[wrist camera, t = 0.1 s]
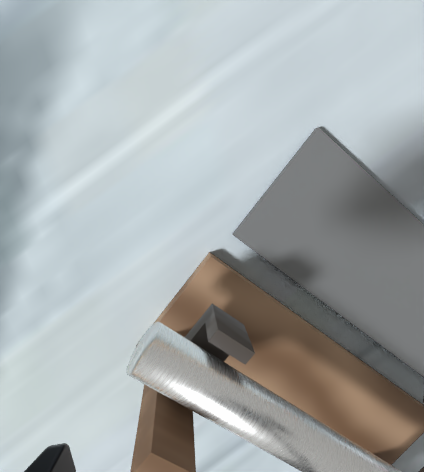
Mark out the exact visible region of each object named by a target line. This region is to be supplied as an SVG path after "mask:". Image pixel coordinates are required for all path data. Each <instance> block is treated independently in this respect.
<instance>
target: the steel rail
mask: <svg viewBox="0 0 424 472" xmlns="http://www.w3.org/2000/svg"><path fill="white" fill-rule="evenodd" d="M127 375H129V376H131V377H132V378H134V379H136V380H138V381H140V382H141V383H143V384H145V385H147V386H149V387H151V388H152V389H154V390H156V391H158V392H160V393H161V394H163V395H165V396H167V397H169V398H170V399H172V400H174V401H176V402H178V403H179V404H181V405H183V406H185V407H187V408H188V409H190V410H192V411H194V412H196V413H197V414H199V415H201V416H203V417H205V418H206V419H208V420H210V421H212V422H214V423H215V424H217V425H219V426H221V427H223V428H224V429H226V430H228V431H230V432H232V433H233V434H235V435H237V436H239V437H241V438H243V439H244V440H246V441H248V442H250V443H252V444H253V445H255V446H257V447H259V448H261V449H262V450H264V451H266V452H268V453H270V454H271V455H273V456H275V457H277V458H279V459H280V460H282V461H284V462H286V463H288V464H289V465H291V466H293V467H295V468H297V469H298V470H300V471H302V472H401V471H400V470H398V469H397V468H395V467H393V466H392V465H390V464H388V463H387V462H385V461H384V460H382V459H380V458H379V457H377V456H376V455H374V454H372V453H371V452H369V451H367V450H366V449H364V448H363V447H361V446H359V445H358V444H356V443H354V442H353V441H351V440H350V439H348V438H346V437H345V436H343V435H342V434H340V433H338V432H337V431H335V430H333V429H332V428H330V427H329V426H327V425H325V424H324V423H322V422H321V421H319V420H317V419H316V418H314V417H312V416H311V415H309V414H308V413H306V412H304V411H303V410H301V409H299V408H298V407H296V406H295V405H293V404H291V403H290V402H288V401H287V400H285V399H283V398H282V397H280V396H278V395H277V394H275V393H274V392H272V391H270V390H269V389H267V388H265V387H264V386H262V385H261V384H259V383H257V382H256V381H254V380H253V379H251V378H249V377H248V376H246V375H244V374H243V373H241V372H240V371H238V370H236V369H235V368H233V367H232V366H230V365H228V364H227V363H225V362H223V361H222V360H220V359H219V358H217V357H215V356H214V355H212V354H210V353H209V352H207V351H206V350H204V349H202V348H201V347H199V346H198V345H196V344H194V343H193V342H191V341H189V340H188V339H186V338H185V337H183V336H181V335H180V334H178V333H177V332H175V331H173V330H172V329H170V328H168V327H167V326H165V325H164V324H162V323H160V322H156V323H154V324H153V325H152V326H151V327H150V328H149V329H148V330H147V332H146V333H145V334H144V336H143V337H142V339H141V340H140V342H139V343H138V345H137V347H136V348H135V350H134V352H133V354H132V356H131V359H130V361H129V364H128V367H127Z"/></svg>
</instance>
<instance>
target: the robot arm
mask: <svg viewBox="0 0 424 472" xmlns="http://www.w3.org/2000/svg"><path fill="white" fill-rule="evenodd" d="M423 407H424V398H423ZM24 472H76V469H75V465H74V462H73V459H72V455H71V452H70V448H69V446H68V445H67V444H65V443H63V444H57V445H52V446H49V447H47V448H46V449H45V450H44V451H43V452H42V453H41V454H40V455H39V456H38V458H37V459H36V460H35V461H34V462H33V463H32V464H31V465H30V466H29V467H28V468H27V469H26V470H25V471H24Z"/></svg>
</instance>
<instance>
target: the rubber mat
mask: <svg viewBox="0 0 424 472" xmlns="http://www.w3.org/2000/svg"><path fill="white" fill-rule="evenodd" d="M233 235H234V236H235V237H236V238H238V239H239V240H240V241H242V242H243V243H244V244H246V245H247V246H248V247H250V248H251V249H252V250H254V251H255V252H257V253H258V254H259V255H261V256H262V257H263V258H265V259H266V260H267V261H269V262H270V263H271V264H273V265H274V266H275V267H277V268H278V269H279V270H281V271H282V272H283V273H285V274H286V275H287V276H289V277H290V278H291V279H293V280H294V281H295V282H297V283H298V284H299V285H301V286H302V287H303V288H305V289H306V290H307V291H309V292H310V293H311V294H313V295H314V296H315V297H317V298H318V299H320V300H321V301H322V302H324V303H325V304H326V305H328V306H329V307H330V308H332V309H333V310H334V311H336V312H337V313H338V314H340V315H341V316H342V317H344V318H345V319H346V320H348V321H349V322H350V323H352V324H353V325H354V326H356V327H357V328H358V329H360V330H361V331H362V332H364V333H365V334H366V335H368V336H369V337H370V338H372V339H373V340H374V341H376V342H377V343H378V344H380V345H381V346H382V347H384V348H385V349H387V350H388V351H389V352H391V353H392V354H393V355H395V356H396V357H397V358H399V359H400V360H401V361H403V362H404V363H405V364H407V365H408V366H409V367H411V368H412V369H413V370H415V371H416V372H417V373H419V374H420V375H421V376H423V377H424V224H423V223H422V222H421V221H419V220H418V219H417V218H416V217H415V216H414V215H413V214H412V213H411V212H410V211H409V210H408V209H407V208H405V207H404V206H403V205H402V204H401V203H400V202H399V201H398V200H397V199H396V198H395V197H394V196H393V195H391V194H390V193H389V192H388V191H387V190H386V189H385V188H384V187H383V186H382V185H381V184H380V183H379V182H377V181H376V180H375V179H374V178H373V177H372V176H371V175H370V174H369V173H368V172H367V171H366V170H364V169H363V168H362V167H361V166H360V165H359V164H358V163H357V162H356V161H355V160H354V159H353V158H352V157H350V156H349V155H348V154H347V153H346V152H345V151H344V150H343V149H342V148H341V147H340V146H339V145H338V144H336V143H335V142H334V141H333V140H332V139H331V138H330V137H329V136H328V135H327V134H326V133H325V132H324V131H322V130H321V129H320V128H316V129H315V130H314V131H313V132H312V134H311V135H310V136H309V137H308V139H307V140H306V141H305V143H304V144H303V145H302V146H301V148H300V149H299V150H298V151H297V153H296V154H295V155H294V156H293V158H292V159H291V160H290V162H289V163H288V164H287V165H286V167H285V168H284V169H283V170H282V172H281V173H280V174H279V176H278V177H277V178H276V179H275V181H274V182H273V183H272V184H271V186H270V187H269V188H268V189H267V191H266V192H265V193H264V195H263V196H262V197H261V198H260V200H259V201H258V202H257V203H256V205H255V206H254V207H253V209H252V210H251V211H250V212H249V214H248V215H247V216H246V217H245V219H244V220H243V221H242V222H241V224H240V225H239V226H238V228H237V229H236V230H235V231H234V233H233Z"/></svg>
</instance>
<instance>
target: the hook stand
mask: <svg viewBox="0 0 424 472" xmlns="http://www.w3.org/2000/svg"><path fill="white" fill-rule="evenodd" d="M156 322H160V323H162V324H164V325H165V326H167V327H168V328H170V329H172V330H173V331H175V332H177V333H178V334H180V335H181V336H183V337H185V338H186V339H188V340H189V341H191V342H193V343H194V344H196V345H198V346H199V347H201V348H202V349H204V350H206V351H207V352H209V353H210V354H212V355H214V356H215V357H217V358H219V359H220V360H222V361H223V362H225V363H227V364H228V365H230V366H232V367H233V368H235V369H236V370H238V371H240V372H241V373H243V374H244V375H246V376H248V377H249V378H251V379H253V380H254V381H256V382H257V383H259V384H261V385H262V386H264V387H265V388H267V389H269V390H270V391H272V392H274V393H275V394H277V395H278V396H280V397H282V398H283V399H285V400H287V401H288V402H290V403H291V404H293V405H295V406H296V407H298V408H299V409H301V410H303V411H304V412H306V413H308V414H309V415H311V416H312V417H314V418H316V419H317V420H319V421H321V422H322V423H324V424H325V425H327V426H329V427H330V428H332V429H333V430H335V431H337V432H338V433H340V434H342V435H343V436H345V437H346V438H348V439H350V440H351V441H353V442H354V443H356V444H358V445H359V446H361V447H363V448H364V449H366V450H367V451H369V452H371V453H372V454H374V455H376V456H377V457H379V458H380V459H382V460H384V461H385V462H387V463H388V464H390V465H392V464H393V463H394V462H395V461H396V460H397V459H398V458H399V457H400V456H401V455H402V454H403V453H404V452H405V451H406V450H407V449H408V448H409V447H410V446H411V445H412V444H413V443H414V442H415V441H416V440H417V439H418V438H419V437H420V436H421V435H422V434H423V433H424V407H423V404H422V403H420V402H419V401H417V400H416V399H415V398H413V397H412V396H410V395H409V394H408V393H406V392H405V391H403V390H402V389H401V388H399V387H398V386H396V385H395V384H394V383H392V382H391V381H389V380H388V379H387V378H385V377H384V376H382V375H381V374H380V373H378V372H377V371H375V370H374V369H373V368H371V367H370V366H368V365H367V364H366V363H364V362H363V361H361V360H360V359H359V358H357V357H356V356H354V355H353V354H352V353H350V352H349V351H347V350H346V349H345V348H343V347H342V346H340V345H339V344H338V343H336V342H335V341H333V340H332V339H331V338H329V337H328V336H326V335H325V334H324V333H322V332H321V331H319V330H318V329H317V328H315V327H314V326H312V325H311V324H309V323H308V322H307V321H305V320H304V319H302V318H301V317H300V316H298V315H297V314H295V313H294V312H293V311H291V310H290V309H288V308H287V307H286V306H284V305H283V304H281V303H280V302H279V301H277V300H276V299H274V298H273V297H272V296H270V295H269V294H267V293H266V292H265V291H263V290H262V289H260V288H259V287H258V286H256V285H255V284H253V283H252V282H251V281H249V280H248V279H246V278H245V277H244V276H242V275H241V274H239V273H238V272H237V271H235V270H234V269H232V268H231V267H230V266H228V265H227V264H225V263H224V262H223V261H221V260H220V259H218V258H217V257H216V256H214V255H213V254H211V253H210V252H209V253H208V255H207V256H206V257H205V259H204V260H203V261H202V262H201V264H200V265H199V266H198V267H197V269H196V270H195V271H194V273H193V274H192V275H191V276H190V278H189V279H188V280H187V281H186V283H185V284H184V285H183V287H182V288H181V289H180V290H179V292H178V293H177V294H176V296H175V297H174V298H173V299H172V301H171V302H170V303H169V304H168V306H167V307H166V308H165V310H164V311H163V312H162V313H161V315H160V316H159V317H158V319H157V320H156V321H155V322H154V323H156ZM139 342H140V341H139ZM137 345H138V344H137ZM137 345H136V347H137ZM131 472H196V467H195V448H194V428H193V411H192V410H190V409H188V408H187V407H185V406H183V405H181V404H179V403H178V402H176V401H174V400H172V399H170V398H169V397H167V396H165V395H163V394H161V393H160V392H158V391H156V390H154V389H152V388H151V387H149V386H147V385H145V384H144V390H143V396H142V403H141V409H140V415H139V421H138V428H137V434H136V440H135V447H134V453H133V459H132V466H131ZM419 472H424V467H423V468H422V469H421V470H420V471H419Z"/></svg>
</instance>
